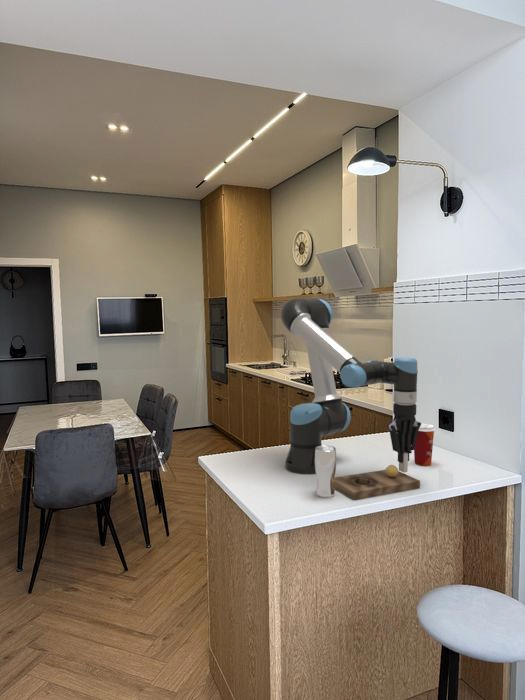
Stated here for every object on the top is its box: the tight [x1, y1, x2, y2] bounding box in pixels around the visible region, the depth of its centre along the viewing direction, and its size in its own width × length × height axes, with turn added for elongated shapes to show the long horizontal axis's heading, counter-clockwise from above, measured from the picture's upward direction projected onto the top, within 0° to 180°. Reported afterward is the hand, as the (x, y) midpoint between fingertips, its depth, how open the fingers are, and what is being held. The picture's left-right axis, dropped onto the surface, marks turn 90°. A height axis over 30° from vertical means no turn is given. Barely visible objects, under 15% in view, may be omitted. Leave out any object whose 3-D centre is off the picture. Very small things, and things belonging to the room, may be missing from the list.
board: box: [334, 469, 421, 501], centre depth 163 cm, size 26×14×2 cm, turn 114°
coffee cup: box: [413, 422, 436, 467], centre depth 188 cm, size 8×8×15 cm
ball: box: [385, 464, 399, 477], centre depth 166 cm, size 4×4×4 cm
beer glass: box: [315, 444, 338, 499], centre depth 156 cm, size 7×7×15 cm
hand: (403, 471), depth 168 cm, fingers closed
